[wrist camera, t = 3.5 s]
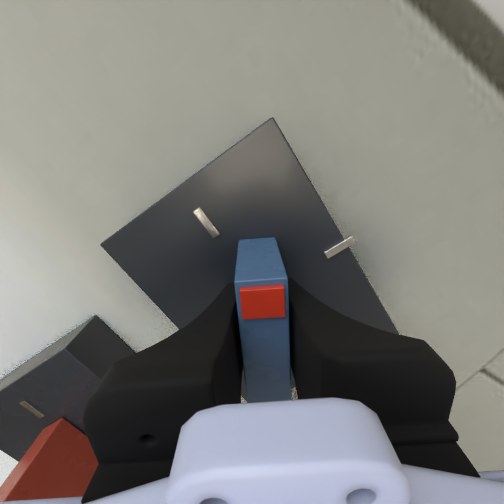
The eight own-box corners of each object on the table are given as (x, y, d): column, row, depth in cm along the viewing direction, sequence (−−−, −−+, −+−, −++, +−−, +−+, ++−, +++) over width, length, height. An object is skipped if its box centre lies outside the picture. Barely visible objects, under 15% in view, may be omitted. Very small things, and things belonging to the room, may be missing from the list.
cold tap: (280, 340, 14) (293, 418, 10) (248, 342, 14) (248, 421, 10) (275, 236, 12) (289, 281, 8) (238, 239, 12) (233, 285, 8)
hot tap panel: (217, 425, 20) (212, 473, 17) (121, 473, 22) (102, 524, 19) (100, 311, 16) (67, 347, 13) (-3, 381, 18) (-52, 426, 15)
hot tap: (130, 467, 17) (93, 565, 13) (111, 477, 17) (70, 575, 13) (62, 416, 15) (-3, 510, 11) (43, 428, 16) (-27, 523, 12)
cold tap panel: (379, 300, 16) (408, 333, 13) (247, 371, 18) (247, 414, 15) (273, 119, 13) (281, 109, 10) (123, 230, 15) (91, 250, 12)
